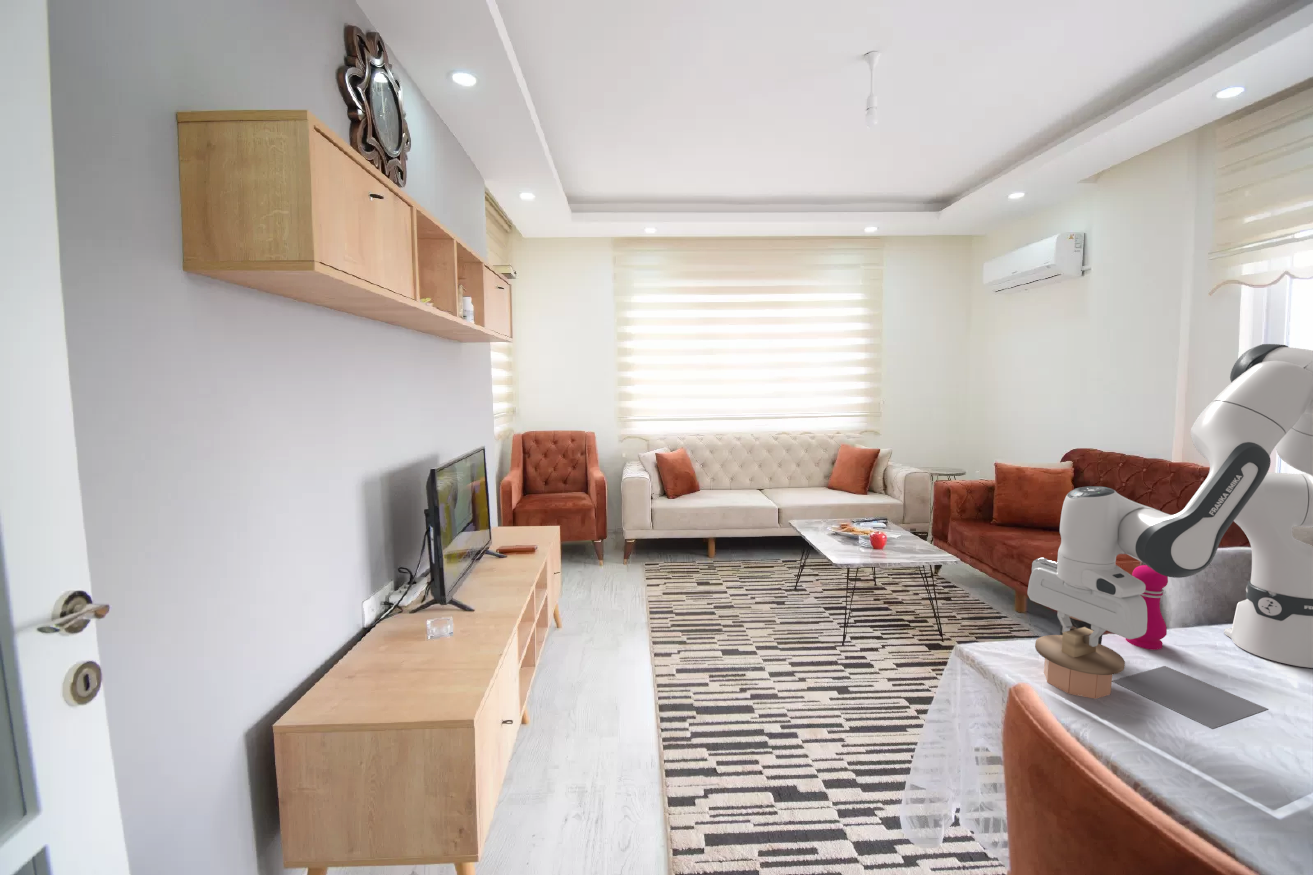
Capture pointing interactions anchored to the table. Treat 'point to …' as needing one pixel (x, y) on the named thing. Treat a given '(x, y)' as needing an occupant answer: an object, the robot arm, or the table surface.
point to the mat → (1190, 696)
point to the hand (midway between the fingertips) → (1079, 640)
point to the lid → (1079, 653)
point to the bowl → (1077, 681)
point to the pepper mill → (1151, 608)
